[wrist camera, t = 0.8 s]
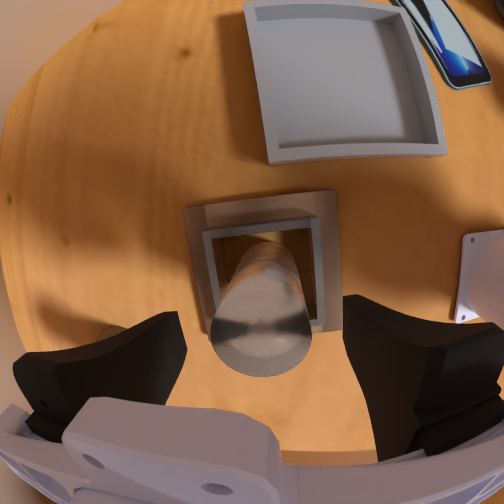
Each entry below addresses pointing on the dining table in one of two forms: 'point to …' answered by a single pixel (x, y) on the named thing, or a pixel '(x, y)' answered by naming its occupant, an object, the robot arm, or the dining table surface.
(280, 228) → the collar stand
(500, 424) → the robot arm
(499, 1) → the pitcher
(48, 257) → the dining table surface
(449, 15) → the smartphone
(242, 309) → the metal peg
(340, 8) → the tray
